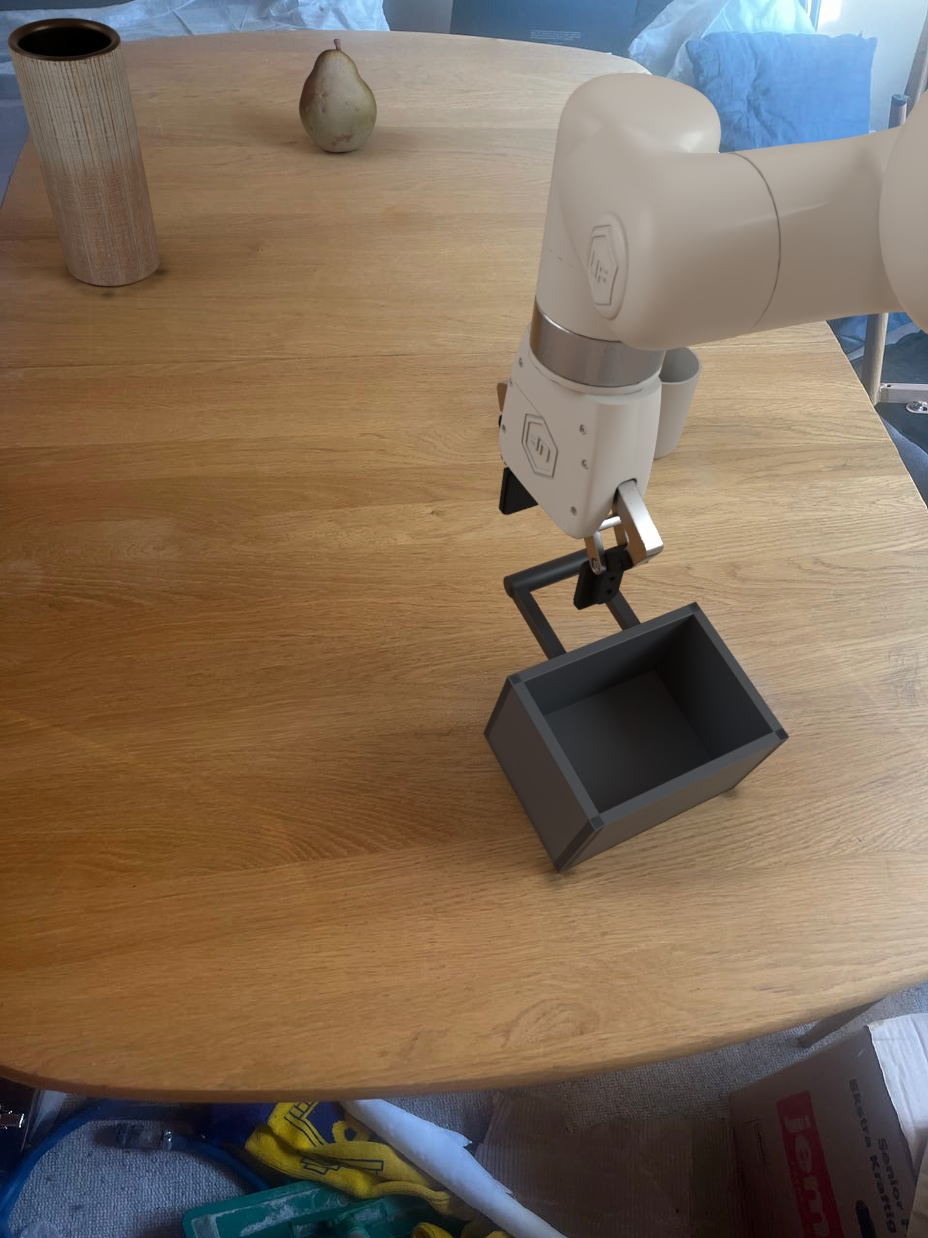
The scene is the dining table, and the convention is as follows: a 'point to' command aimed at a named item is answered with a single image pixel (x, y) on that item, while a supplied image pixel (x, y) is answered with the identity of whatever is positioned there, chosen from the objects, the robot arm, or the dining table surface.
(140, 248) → the planter
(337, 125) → the fruit
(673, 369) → the cup
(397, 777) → the dining table surface
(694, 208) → the robot arm
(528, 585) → the grey tool caddy
